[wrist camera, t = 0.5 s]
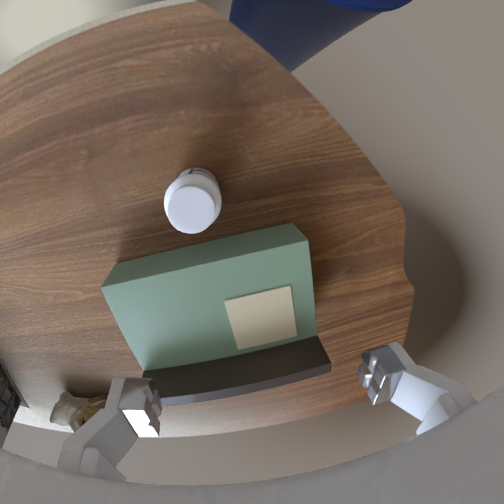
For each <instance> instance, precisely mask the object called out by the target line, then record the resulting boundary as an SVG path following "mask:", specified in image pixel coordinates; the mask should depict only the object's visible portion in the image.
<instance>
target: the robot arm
mask: <svg viewBox="0 0 504 504" xmlns="http://www.w3.org/2000/svg"><path fill="white" fill-rule="evenodd" d="M362 359H363V362H362V363H361V364H360V365H359V369H358V376H359V380H360V383H361V385H362V386H363V387H365V388H367V389H368V390H367V396H368V397H369V399H370V401H371V403H372V405H376V404H379V403H382V402H386V401H389V400H391V402H393V403H394V404H396V405H398V406H399V407H401V408H402V409H404V410H405V411H407V412H408V413H410V414H411V415H413V416H415V417H416V418H418V419H419V420H421V421H422V423H421V424H420V426H419V427H418V429H417V431H416V433H417V435H416V436H414V437H412V438H410V439H408V440H405V441H403V442H401V443H398V444H396V445H394V446H391V447H389V448H386V449H383V450H381V451H378V452H376V453H373V454H370V455H367V456H364V457H361V458H358V459H356V460H352V461H349V462H345V463H342V464H339V465H336V466H331V467H328V468H324V469H320V470H316V471H312V472H307V473H303V474H298V475H293V476H288V477H282V478H276V479H270V480H263V481H255V482H247V483H237V484H223V485H200V486H179V485H178V486H177V485H154V484H143V483H132V482H126V478H125V477H124V476H123V475H122V474H121V473H120V472H119V471H118V470H117V469H116V468H115V467H116V466H117V464H118V463H119V462H120V461H121V460H122V458H123V457H124V456H125V454H126V453H127V452H128V451H129V449H130V448H131V447H132V445H133V444H134V443H135V441H136V440H137V439H138V436H139V437H159V431H160V422H159V420H158V417H159V416H160V415H161V409H162V406H161V398H160V395H159V392H158V391H157V390H155V383H154V381H153V379H152V378H130V377H127V378H126V377H115V378H114V379H113V380H112V384H111V387H110V391H109V394H108V398H107V401H106V405H105V409H100V410H99V411H98V412H97V413H96V414H95V415H94V416H92V417H91V418H90V419H89V420H88V421H87V422H86V423H85V424H83V425H82V426H81V427H80V428H79V429H78V430H77V431H76V432H74V433H73V434H72V435H71V436H70V437H69V438H68V439H66V440H65V441H64V443H63V447H62V450H61V454H60V457H59V461H58V465H57V468H55V467H52V466H48V465H45V464H42V463H39V462H35V461H32V460H29V459H27V458H24V457H21V456H19V455H16V454H13V453H11V452H8V451H6V450H4V449H1V448H0V504H504V384H503V385H501V386H500V387H498V388H497V389H496V390H494V391H493V392H491V393H490V394H489V395H487V396H486V397H484V398H483V399H481V400H480V401H478V402H477V401H476V400H475V399H474V397H473V396H472V395H471V394H470V392H469V391H468V390H467V388H466V387H465V386H464V385H463V383H460V382H458V381H455V380H453V379H451V378H449V377H446V376H444V375H441V374H439V373H437V372H434V371H432V370H430V369H427V368H425V367H423V366H421V365H418V366H417V365H416V364H415V363H414V362H413V360H412V359H411V358H410V356H409V355H408V354H407V353H406V351H405V350H404V349H403V348H402V346H401V345H400V344H399V343H398V342H394V343H390V344H386V345H383V346H379V347H375V348H372V349H368V350H365V351H364V352H363V354H362Z"/></svg>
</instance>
